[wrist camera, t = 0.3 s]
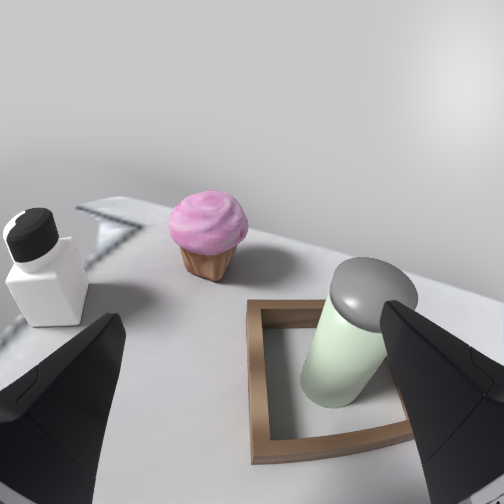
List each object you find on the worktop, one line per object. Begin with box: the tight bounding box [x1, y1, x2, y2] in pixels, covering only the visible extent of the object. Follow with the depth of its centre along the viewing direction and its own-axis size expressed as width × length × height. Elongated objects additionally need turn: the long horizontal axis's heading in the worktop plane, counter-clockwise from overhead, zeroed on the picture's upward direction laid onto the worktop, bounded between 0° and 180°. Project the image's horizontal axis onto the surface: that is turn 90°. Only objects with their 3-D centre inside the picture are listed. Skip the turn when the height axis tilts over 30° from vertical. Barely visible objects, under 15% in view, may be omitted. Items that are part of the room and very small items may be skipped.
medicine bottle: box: [3, 208, 89, 327], centre depth 26 cm, size 7×7×12 cm
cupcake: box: [169, 191, 248, 281], centre depth 34 cm, size 9×9×10 cm
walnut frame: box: [246, 299, 415, 465], centre depth 24 cm, size 15×15×3 cm
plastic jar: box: [300, 257, 418, 408], centre depth 21 cm, size 6×6×12 cm
